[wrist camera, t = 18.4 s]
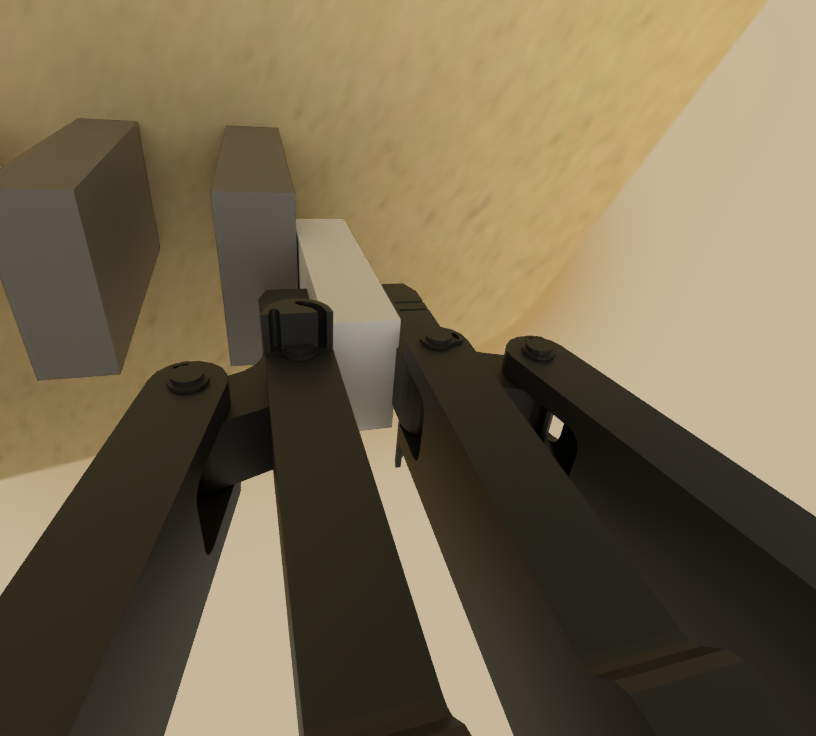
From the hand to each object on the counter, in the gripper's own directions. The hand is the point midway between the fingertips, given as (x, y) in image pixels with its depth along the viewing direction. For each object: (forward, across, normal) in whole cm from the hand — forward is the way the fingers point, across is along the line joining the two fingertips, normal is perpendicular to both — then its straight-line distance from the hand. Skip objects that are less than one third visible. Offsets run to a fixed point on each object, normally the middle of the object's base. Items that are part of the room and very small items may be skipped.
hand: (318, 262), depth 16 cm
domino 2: (+8, -2, 0) cm, 9 cm away
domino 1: (+8, -7, 0) cm, 11 cm away
